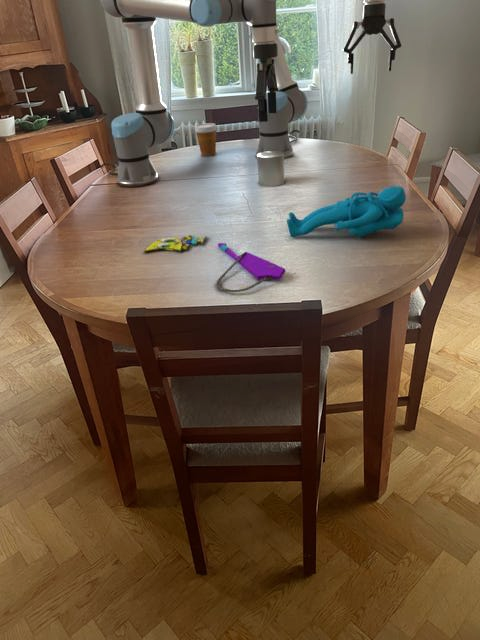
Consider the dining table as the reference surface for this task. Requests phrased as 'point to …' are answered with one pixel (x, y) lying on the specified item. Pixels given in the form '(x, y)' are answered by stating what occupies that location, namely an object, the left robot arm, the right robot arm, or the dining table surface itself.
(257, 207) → the dining table surface
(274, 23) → the left robot arm
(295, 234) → the toy
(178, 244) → the toy
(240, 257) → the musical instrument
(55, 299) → the dining table surface
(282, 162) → the canister
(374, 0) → the right robot arm
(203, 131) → the disposable coffee cup
